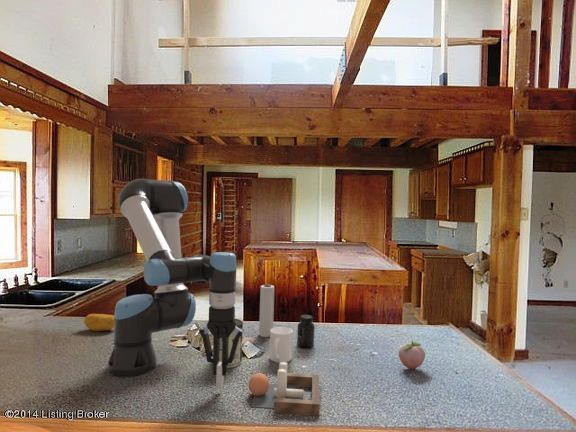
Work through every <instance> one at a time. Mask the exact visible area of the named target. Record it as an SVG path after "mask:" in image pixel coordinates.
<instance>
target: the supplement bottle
mask: <svg viewBox="0 0 576 432" xmlns="http://www.w3.org/2000/svg"><path fill="white" fill-rule="evenodd" d="M313 321H314V320H313V315H310V314H301V315H300V319H299V322H298V324H297V332H296V333H297V334H296V335H297V336H296V346H297V347H298V348H299V349H303V350H308V349H313V348H314V346H315V331H316V330H315V328H316V326H315V324H314V323H313Z"/></svg>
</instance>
